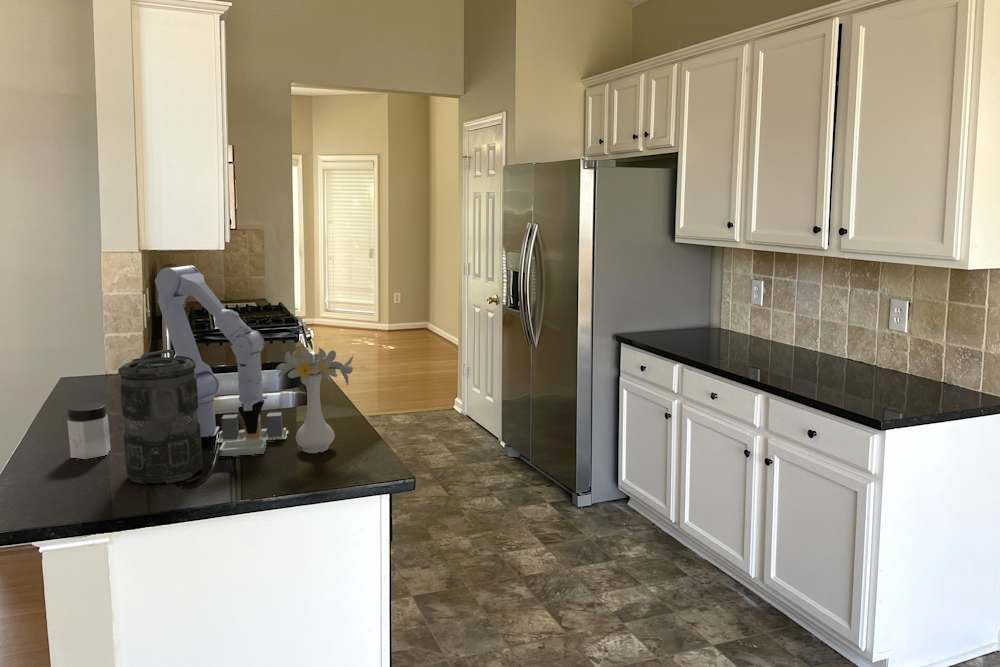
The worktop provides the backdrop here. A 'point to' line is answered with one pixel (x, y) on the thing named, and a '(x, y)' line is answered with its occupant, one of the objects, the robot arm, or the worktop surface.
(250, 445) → the tray
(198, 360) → the robot arm
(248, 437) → the block
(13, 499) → the worktop surface
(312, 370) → the flower vase
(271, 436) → the panel
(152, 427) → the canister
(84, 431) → the jar
